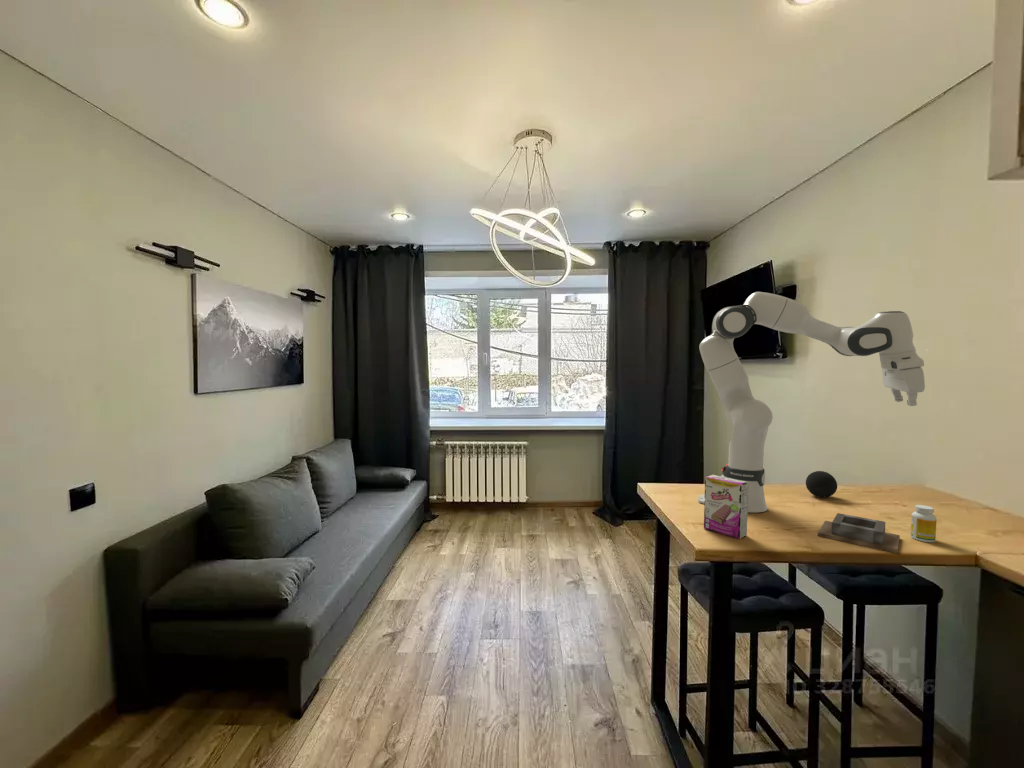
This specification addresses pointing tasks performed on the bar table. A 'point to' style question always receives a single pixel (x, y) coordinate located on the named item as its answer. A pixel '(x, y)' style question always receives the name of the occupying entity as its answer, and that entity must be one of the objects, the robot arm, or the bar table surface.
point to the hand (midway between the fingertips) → (905, 403)
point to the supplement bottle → (923, 524)
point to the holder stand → (860, 532)
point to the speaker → (821, 484)
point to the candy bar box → (726, 506)
